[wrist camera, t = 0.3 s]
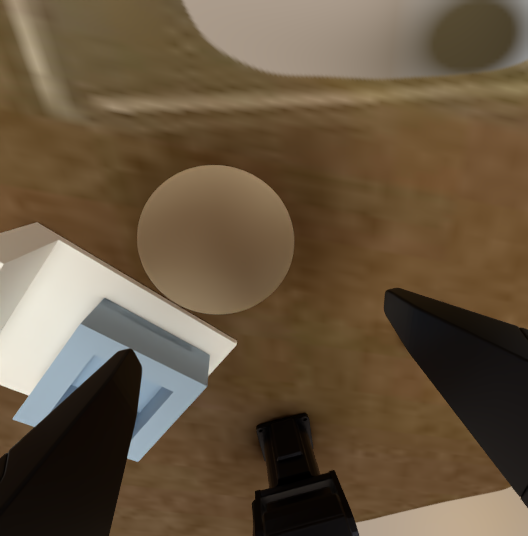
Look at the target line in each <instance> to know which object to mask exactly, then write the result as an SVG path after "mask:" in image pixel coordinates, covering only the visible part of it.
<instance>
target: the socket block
mask: <svg viewBox="0 0 528 536" xmlns="http://www.w3.org/2000/svg"><path fill="white" fill-rule="evenodd" d="M129 348H130V349H132V350H133V351H134V352H135V354H136V356H137V358H138V359H139V361H140V363H141V365H142V379H141V387H140V395H139V403H138V411H137V417H136V422H135V426H134V431H133V435H132V439H131V443H130V448H129V452H128V456H127V458H128V459H131V460H134V461H137V462H138V461H139V460H140V459H141V458H142V457H143V456H144V455H145V454H146V453H147V452H148V450H149V449H150V448H151V447H152V446H153V445H154V444H155V443H156V442H157V441H158V440H159V438H160V437H161V436H162V435H163V434H164V433H165V432H166V431H167V430H168V429H169V428H170V426H171V425H172V424H173V423H174V422H175V421H176V420H177V419H178V418H179V417H180V415H181V414H182V413H183V412H184V411H185V410H186V409H187V408H188V407H189V406H190V405H191V403H192V402H193V401H194V400H195V399H196V398H197V397H198V396H199V395H200V394H201V393H202V391H203V390H204V389H205V388H206V387H207V383H208V371H209V360H210V355H209V354H207V353H205V352H203V351H202V350H200V349H198V348H196V347H194V346H192V345H191V344H189V343H187V342H185V341H183V340H181V339H180V338H178V337H176V336H174V335H172V334H170V333H169V332H167V331H165V330H163V329H161V328H159V327H158V326H156V325H154V324H152V323H150V322H148V321H147V320H145V319H143V318H141V317H139V316H137V315H136V314H134V313H132V312H130V311H128V310H126V309H125V308H123V307H121V306H119V305H117V304H115V303H114V302H112V301H110V300H108V299H106V298H104V299H103V300H102V301H101V302H100V303H99V304H98V305H97V306H96V307H95V308H94V309H93V311H92V312H91V313H90V314H89V315H88V316H87V317H86V318H85V319H84V320H83V321H82V322H81V324H80V325H79V326H78V328H77V329H76V330H75V332H74V333H73V335H72V336H71V337H70V339H69V340H68V342H67V343H66V345H65V346H64V347H63V349H62V350H61V352H60V353H59V354H58V356H57V357H56V359H55V360H54V361H53V363H52V364H51V366H50V367H49V368H48V370H47V371H46V373H45V374H44V375H43V377H42V378H41V380H40V381H39V382H38V384H37V385H36V387H35V388H34V389H33V391H32V392H31V394H30V395H29V396H28V398H27V399H26V401H25V402H24V403H23V405H22V406H21V408H20V409H19V410H18V412H17V413H16V415H15V416H14V417H13V420H16V421H19V422H22V423H25V424H28V425H31V426H34V427H35V426H36V425H37V424H38V423H40V422H41V421H42V420H43V419H44V418H45V417H46V416H47V415H48V414H49V413H51V412H52V411H53V410H54V409H55V408H56V407H57V406H58V405H59V404H60V403H61V402H63V401H64V400H65V399H66V398H67V397H68V396H69V395H70V394H71V393H72V392H74V391H75V390H76V389H77V388H78V387H79V386H80V385H81V384H82V383H83V382H85V381H86V380H87V379H88V378H89V377H90V376H91V375H92V374H93V373H94V372H96V371H97V370H98V369H99V368H100V367H101V366H102V365H103V364H104V363H105V362H107V361H108V360H109V359H110V358H111V357H112V356H113V355H114V354H115V353H116V352H118V351H120V350H124V349H129Z"/></svg>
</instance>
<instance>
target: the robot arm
mask: <svg viewBox="0 0 528 536" xmlns="http://www.w3.org/2000/svg"><path fill="white" fill-rule="evenodd" d="M384 312H385V315H386V316H387V318H388V320H389V321H390V323H391V325H392V326H393V328H394V329H395V331H396V333H397V334H398V336H399V338H400V339H401V341H402V343H403V344H404V346H405V347H406V349H407V350H408V352H409V353H410V354H411V356H412V357H413V358H414V360H415V361H416V362H417V364H418V365H419V366H420V368H421V369H422V370H423V371H424V373H425V374H426V375H427V377H428V378H429V379H430V381H431V382H432V383H433V385H434V386H435V387H436V388H437V390H438V391H439V392H440V394H441V395H442V396H443V398H444V399H445V400H446V401H447V403H448V404H449V405H450V407H451V408H452V409H453V411H454V412H455V413H456V415H457V416H458V417H459V418H460V420H461V421H462V422H463V424H464V425H465V426H466V428H467V429H468V430H469V431H470V433H471V434H472V435H473V437H474V438H475V439H476V441H477V442H478V443H479V445H480V446H481V447H482V448H483V450H484V451H485V452H486V454H487V455H488V456H489V458H490V459H491V460H492V461H493V463H494V464H495V465H496V467H497V468H498V469H499V471H500V472H501V473H502V475H503V476H504V477H505V478H506V480H507V481H508V482H509V484H510V485H511V486H512V488H513V489H514V490H515V492H516V493H517V494H518V495H519V496H520V497H521V499H522V501H523V502H524V504H525V505H526V506H527V508H528V329H524V328H519V327H518V326H515V325H512V324H509V323H506V322H503V321H500V320H496V319H493V318H490V317H487V316H484V315H481V314H478V313H475V312H472V311H469V310H466V309H462V308H459V307H456V306H453V305H450V304H447V303H444V302H441V301H438V300H435V299H432V298H428V297H425V296H422V295H419V294H416V293H413V292H410V291H407V290H404V289H401V288H393V289H389V290H387V291H386V292H385V300H384ZM141 379H142V365H141V363H140V361H139V359H138V358H137V356H136V354H135V352H134V351H133V350H132V349H130V348H129V349H124V350H120V351H118V352H116V353H115V354H114V355H113V356H112V357H111V358H110V359H109V360H108V361H107V362H105V363H104V364H103V365H102V366H101V367H100V368H99V369H98V370H97V371H96V372H94V373H93V374H92V375H91V376H90V377H89V378H88V379H87V380H86V381H85V382H83V383H82V384H81V385H80V386H79V387H78V388H77V389H76V390H75V391H74V392H72V393H71V394H70V395H69V396H68V397H67V398H66V399H65V400H64V401H63V402H61V403H60V404H59V405H58V406H57V407H56V408H55V409H54V410H53V411H52V412H51V413H49V414H48V415H47V416H46V417H45V418H44V419H43V420H42V421H41V422H40V423H38V424H37V425H36V426H35V427H34V428H33V429H32V430H31V431H30V432H29V433H27V434H26V435H25V436H24V437H23V438H22V439H21V440H20V441H19V442H18V443H16V444H15V445H14V446H13V447H12V448H11V449H10V450H9V452H8V453H6V454H4V455H3V456H2V457H1V458H0V536H109V533H110V529H111V524H112V520H113V516H114V512H115V507H116V503H117V499H118V495H119V490H120V486H121V482H122V477H123V473H124V469H125V465H126V460H127V456H128V452H129V448H130V443H131V439H132V435H133V431H134V426H135V422H136V417H137V411H138V403H139V395H140V387H141ZM256 430H257V435H258V438H259V442H260V446H261V450H262V453H263V457H264V461H266V466H267V473H268V481H269V489H265V490H261V491H260V490H257V491H255V500H254V501H253V502H252V511H253V536H359V533H358V530H357V526H356V523H355V520H354V517H353V515H352V512H351V509H350V507H349V504H348V502H347V499H346V497H345V495H344V492H343V490H342V488H341V485H340V483H339V480H338V478H337V476H336V473H335V471H334V470H332V471H329V473H325V474H321V475H320V472H319V468H318V465H317V462H316V459H315V455H314V452H313V443H312V436H311V429H310V423H309V417H308V415H307V414H301V415H297V416H293V417H289V418H285V419H281V420H277V421H273V422H269V423H265V424H261V425H258V426H257V427H256Z"/></svg>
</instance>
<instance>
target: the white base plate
mask: <svg viewBox="0 0 528 536" xmlns="http://www.w3.org/2000/svg"><path fill="white" fill-rule="evenodd" d="M104 298H106V299H108V300H110V301H112V302H114V303H115V304H117V305H119V306H121V307H123V308H125V309H126V310H128V311H130V312H132V313H134V314H136V315H137V316H139V317H141V318H143V319H145V320H147V321H148V322H150V323H152V324H154V325H156V326H158V327H159V328H161V329H163V330H165V331H167V332H169V333H170V334H172V335H174V336H176V337H178V338H180V339H181V340H183V341H185V342H187V343H189V344H191V345H192V346H194V347H196V348H198V349H200V350H202V351H203V352H205V353H207V354H209V355H210V360H209V371H208V376H209V375H210V374H211V373H212V371H213V370H214V369H215V368H216V367H217V366H218V365H219V364H220V363H221V362H222V360H223V359H224V358H225V357H226V356H227V355H228V354H229V353H230V352H231V351H232V349H233V348H234V347H235V346H236V345H237V340H235V339H233V338H232V337H230V336H228V335H226V334H225V333H223V332H221V331H220V330H218V329H216V328H215V327H213V326H211V325H210V324H208V323H206V322H205V321H203V320H201V319H200V318H198V317H196V316H194V315H193V314H191V313H189V312H188V311H186V310H184V309H183V308H181V307H179V306H178V305H176V304H174V303H173V302H171V301H169V300H167V299H166V298H164V297H162V296H161V295H159V294H157V293H156V292H154V291H152V290H151V289H149V288H147V287H146V286H144V285H142V284H140V283H139V282H137V281H135V280H134V279H132V278H130V277H129V276H127V275H125V274H124V273H122V272H120V271H119V270H117V269H115V268H113V267H112V266H110V265H108V264H107V263H105V262H103V261H102V260H100V259H98V258H97V257H95V256H93V255H92V254H90V253H88V252H86V251H85V250H83V249H81V248H80V247H78V246H76V245H75V244H73V243H71V242H70V241H68V240H66V239H65V238H63V237H61V236H60V235H58V234H56V233H54V232H53V231H51V230H49V229H48V228H46V227H44V226H43V225H41V224H39V223H38V222H36V223H33V224H29V225H26V226H23V227H19V228H16V229H13V230H9V231H6V232H2V233H0V385H2V386H5V387H7V388H10V389H13V390H15V391H18V392H21V393H23V394H26V395H30V394H31V392H32V391H33V389H34V388H35V387H36V385H37V384H38V382H39V381H40V380H41V378H42V377H43V375H44V374H45V373H46V371H47V370H48V368H49V367H50V366H51V364H52V363H53V361H54V360H55V359H56V357H57V356H58V354H59V353H60V352H61V350H62V349H63V347H64V346H65V345H66V343H67V342H68V340H69V339H70V337H71V336H72V335H73V333H74V332H75V330H76V329H77V328H78V326H79V325H80V324H81V322H82V321H83V320H84V319H85V318H86V317H87V316H88V315H89V314H90V313H91V312H92V311H93V309H94V308H95V307H96V306H97V305H98V304H99V303H100V302H101V301H102V300H103V299H104Z"/></svg>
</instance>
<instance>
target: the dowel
mask: <svg viewBox="0 0 528 536" xmlns="http://www.w3.org/2000/svg"><path fill="white" fill-rule="evenodd" d="M137 246H138V252H139V256H140V259H141V263H142V265H143V267H144V270H145V272H146V274H147V275H148V277H149V278H150V280H151V281H152V283H153V284H154V285H155V286H156V287H157V289H158V290H159V291H161V292H162V293H163V294H164V295H165V296H166V297H168V298H169V299H170V300H172V301H173V302H175V303H177V304H178V305H180V306H182V307H185V308H187V309H189V310H192V311H196V312H200V313H205V314H216V315H218V314H230V313H236V312H239V311H243V310H246V309H248V308H251V307H253V306H255V305H257V304H258V303H260V302H262V301H263V300H264V299H266V298H267V297H268V296H270V295H271V294H272V293H273V292H274V291H275V290H276V289H277V287H278V286H279V285H280V284H281V282H282V281H283V279H284V278H285V276H286V274H287V272H288V270H289V267H290V264H291V262H292V257H293V253H294V231H293V226H292V222H291V219H290V216H289V213H288V211H287V209H286V207H285V205H284V204H283V202H282V201H281V199H280V198H279V196H278V195H277V194H276V193H275V192H274V191H273V190H272V188H270V187H269V186H268V185H267V184H266V183H265V182H263V181H262V180H260V179H259V178H257V177H256V176H254V175H252V174H250V173H248V172H246V171H244V170H240V169H237V168H234V167H229V166H223V165H206V166H198V167H194V168H190V169H187V170H184V171H182V172H180V173H177V174H176V175H174V176H172V177H171V178H169V179H167V180H166V181H165V182H164V183H163V184H161V185H160V186H159V187H158V188H157V189H156V190H155V191H154V193H153V194H152V195H151V196H150V198H149V199H148V201H147V202H146V204H145V206H144V209H143V211H142V213H141V216H140V220H139V223H138V231H137Z"/></svg>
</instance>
